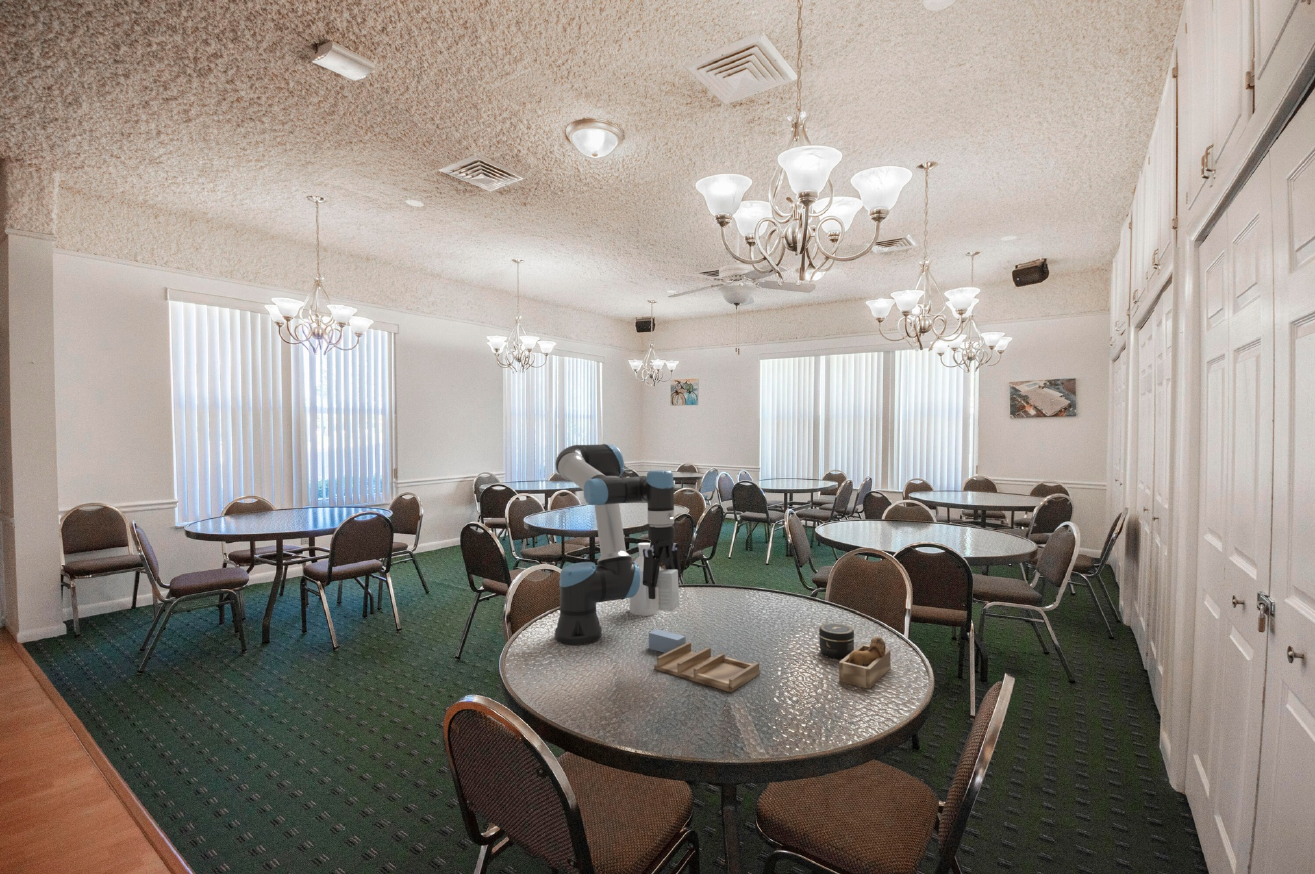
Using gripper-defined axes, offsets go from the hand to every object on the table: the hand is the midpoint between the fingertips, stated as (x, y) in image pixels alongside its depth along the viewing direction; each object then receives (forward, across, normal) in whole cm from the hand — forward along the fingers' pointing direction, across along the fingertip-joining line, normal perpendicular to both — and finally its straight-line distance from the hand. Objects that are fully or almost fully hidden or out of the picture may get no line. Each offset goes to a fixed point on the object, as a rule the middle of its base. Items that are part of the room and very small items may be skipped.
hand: (663, 607), depth 166 cm
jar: (+18, +40, -33) cm, 55 cm away
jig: (+17, +6, -10) cm, 21 cm away
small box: (+1, 0, 0) cm, 1 cm away
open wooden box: (+18, +31, -45) cm, 57 cm away
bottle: (+16, +37, +40) cm, 57 cm away
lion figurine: (+18, +31, -45) cm, 57 cm away
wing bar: (+17, +11, +8) cm, 22 cm away
